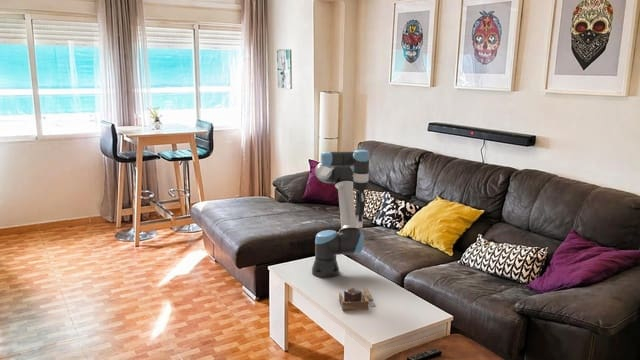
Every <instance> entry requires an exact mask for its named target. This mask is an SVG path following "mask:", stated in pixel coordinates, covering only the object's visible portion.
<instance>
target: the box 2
mask: <svg viewBox="0 0 640 360" xmlns="http://www.w3.org/2000/svg"><path fill="white" fill-rule="evenodd" d="M361 292H362V293H361V294H362V295H361V301H352V302H345V301H344V295H343V294H342V292H338V301H339V305H340V307H341V310H342V311H343V312H344V311H345V312H346V311H368V310H369V303H368V299H367V296H366V294H365V292H364V291H361Z"/></svg>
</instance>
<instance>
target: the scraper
mask: <svg viewBox="0 0 640 360" xmlns="http://www.w3.org/2000/svg"><path fill="white" fill-rule="evenodd" d="M363 292H364V294H365V296H366V298H367V300H368V306H369V307H370V308H374V307H375V308H376V304H375V301H374V299H373V297H372V295H371V293H370V291H369V288H367V287H365V288H364V289H363Z"/></svg>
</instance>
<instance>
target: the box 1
mask: <svg viewBox="0 0 640 360" xmlns="http://www.w3.org/2000/svg"><path fill="white" fill-rule="evenodd" d="M362 292H363V291H362V290H361V291H360V290H359V289H356V288H353V287H352V288H349V289H347V290H345V291H343V299H344V301H345V302H352V301H362V300H361V295H362V294H361V293H362Z"/></svg>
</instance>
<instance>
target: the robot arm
mask: <svg viewBox="0 0 640 360" xmlns="http://www.w3.org/2000/svg"><path fill="white" fill-rule="evenodd" d="M370 159H371V158H370V151H369V150H366V149H356V150H351V151H329V150H328V151H322V152H321V155H320V163H318V164H317V165H316V166H315V169H314V175H315V177H316V179H318V181H320V182H322V183H325V184H334V188H335V189H337V192H338V193H337V194H338V204H339V214H340V226H341V228H340V229H339V230H338V232H337V231H336V230H333V229H325V230H322V231H319V232H318V233H317V234H315V239H314V243H315V245H314V246H315V249H314V250H315V251H314V252H315V253H314V254H315V255H314V256H315V257H314V261H313V264H312V267H311V274H312V275H313V276H316V277H319V278H333V277H336V276H338V275H339V274H340V268H339V264H338V261H337V256H338V255H359V254H360V253H362V251H363V249H364V244H365V243H364V242H365V235H364V233H363V232H362V231H361V230H360V229H361V228H363V222H364V221H363V220H364V217H363V216H364V215H365V204H366V193H365V191H367V190H369V178H370ZM354 190H355V191H356V192H355V197H354ZM354 198H355V199H354Z"/></svg>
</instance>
